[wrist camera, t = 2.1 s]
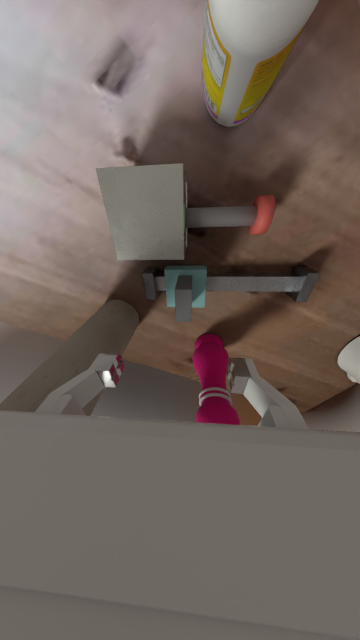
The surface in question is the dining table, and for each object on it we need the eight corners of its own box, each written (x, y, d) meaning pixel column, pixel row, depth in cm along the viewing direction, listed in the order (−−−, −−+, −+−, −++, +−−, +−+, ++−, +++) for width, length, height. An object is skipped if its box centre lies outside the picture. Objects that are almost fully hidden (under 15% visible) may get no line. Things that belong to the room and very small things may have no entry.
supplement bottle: (288, 31, 13) (633, -659, 3) (248, 139, 17) (335, 12, 7) (217, -4, 13) (324, -1048, 2) (192, 116, 17) (187, -66, 6)
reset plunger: (264, 196, 19) (279, 192, 15) (256, 232, 21) (268, 235, 18) (172, 200, 19) (167, 197, 16) (173, 234, 22) (169, 237, 18)
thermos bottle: (114, 334, 35) (-38, 556, 12) (94, 304, 31) (-194, 555, 8) (145, 327, 33) (34, 574, 10) (128, 295, 29) (-122, 585, 6)
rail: (304, 266, 24) (320, 273, 21) (293, 292, 26) (306, 301, 23) (148, 267, 26) (142, 273, 23) (151, 291, 28) (146, 299, 26)
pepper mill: (186, 342, 35) (178, 455, 18) (211, 326, 32) (229, 443, 15) (206, 359, 38) (215, 471, 21) (231, 345, 34) (265, 464, 18)
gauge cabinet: (187, 180, 19) (184, 163, 13) (187, 248, 24) (184, 259, 18) (126, 183, 20) (95, 168, 14) (137, 249, 25) (117, 260, 18)
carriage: (205, 262, 24) (210, 283, 17) (203, 296, 28) (206, 326, 20) (168, 262, 25) (156, 282, 17) (170, 296, 28) (161, 325, 21)
